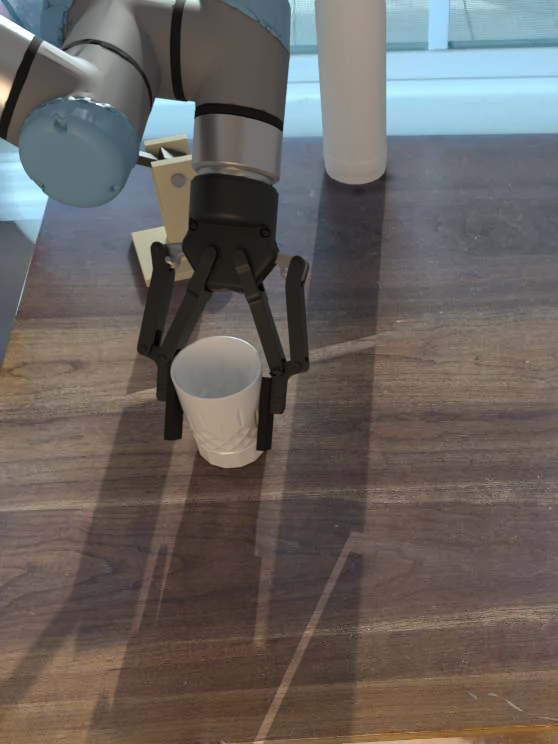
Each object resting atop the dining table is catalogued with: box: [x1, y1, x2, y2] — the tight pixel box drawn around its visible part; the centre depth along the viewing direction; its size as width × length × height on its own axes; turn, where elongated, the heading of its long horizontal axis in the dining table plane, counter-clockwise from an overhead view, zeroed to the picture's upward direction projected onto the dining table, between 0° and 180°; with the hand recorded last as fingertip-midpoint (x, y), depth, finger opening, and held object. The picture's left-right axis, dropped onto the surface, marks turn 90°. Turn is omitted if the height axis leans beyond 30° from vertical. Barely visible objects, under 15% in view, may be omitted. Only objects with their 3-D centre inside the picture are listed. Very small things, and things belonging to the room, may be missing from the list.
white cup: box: [171, 335, 265, 469], centre depth 79 cm, size 8×8×10 cm
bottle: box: [313, 0, 388, 185], centre depth 97 cm, size 8×8×30 cm
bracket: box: [130, 133, 198, 288], centre depth 94 cm, size 12×9×13 cm
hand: (218, 444), depth 79 cm, fingers closed on white cup, 8 cm apart
